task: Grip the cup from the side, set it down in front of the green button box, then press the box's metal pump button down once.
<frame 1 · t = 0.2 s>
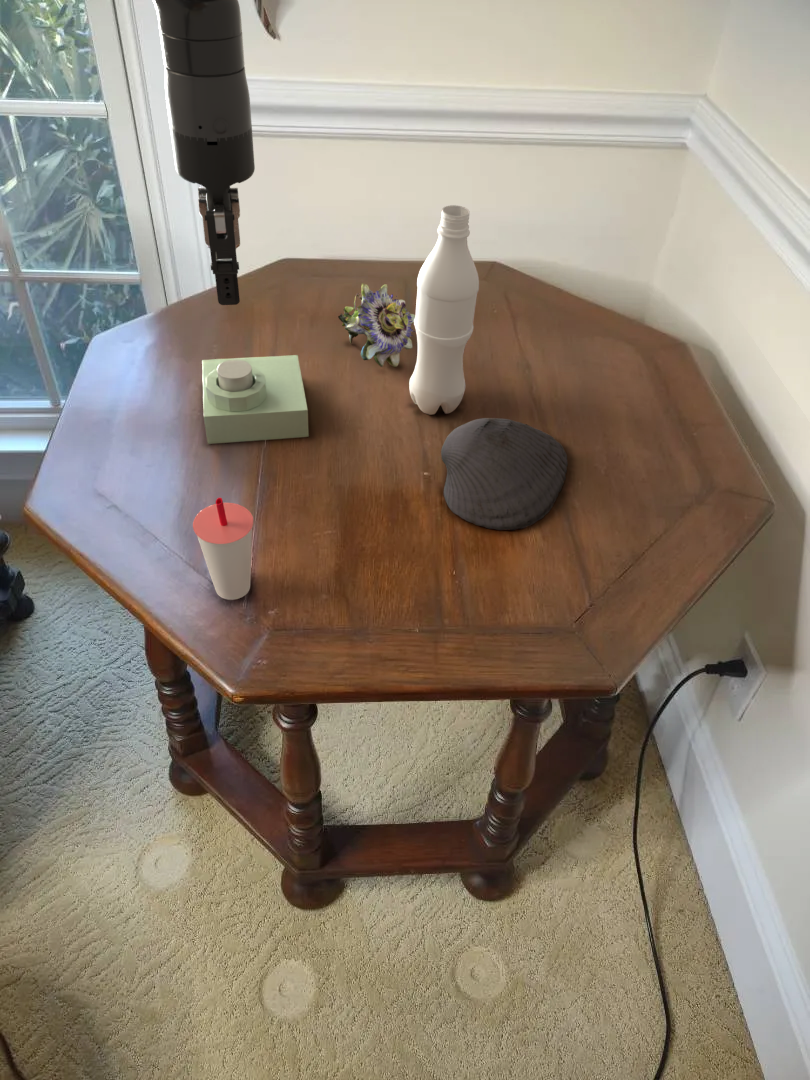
hand: (227, 283, 83), 18 cm above the table, tool pointing down, fingers open, 8 cm apart
passion flower: (373, 353, 108), on the table
green button box: (255, 410, 96), on the table
water bottle: (435, 405, 100), on the table
pump button: (235, 376, 90), point 7 cm above the table, slide at 0.1 cm
cup: (233, 588, 76), on the table
seashell: (504, 476, 91), on the table
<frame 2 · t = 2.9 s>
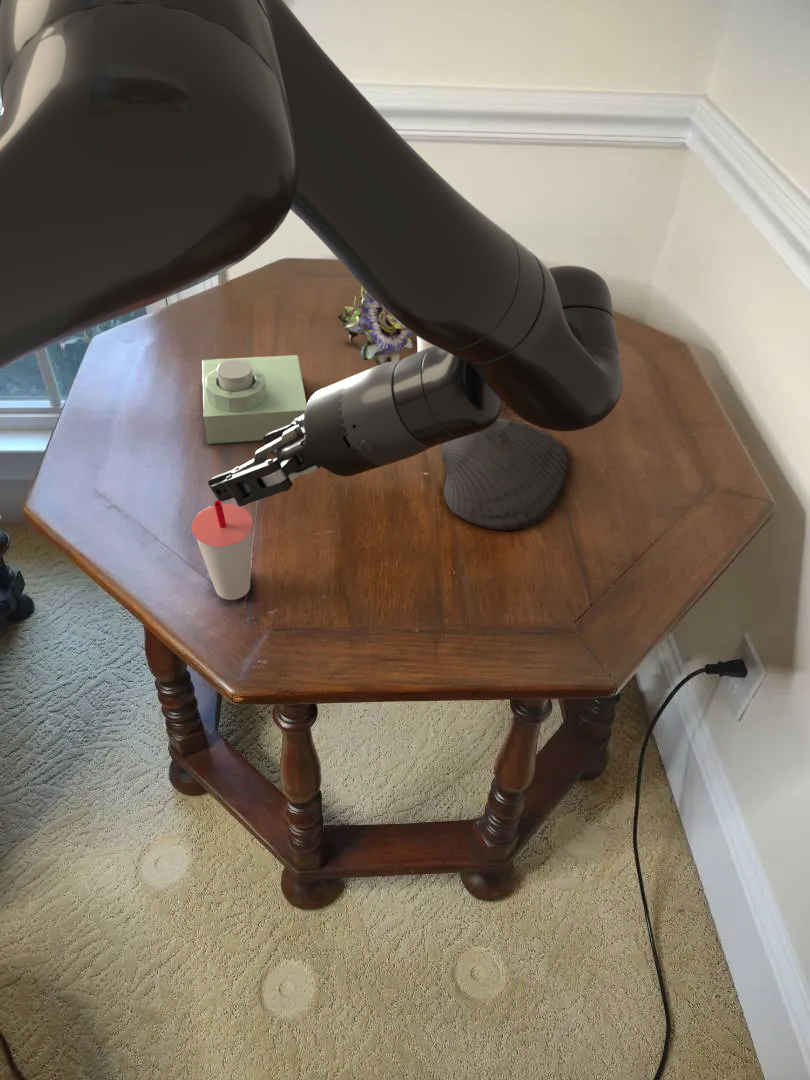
hand: (243, 467, 71), 12 cm above the table, tool tilted 55°, fingers open, 8 cm apart
cup: (233, 587, 76), on the table, touching gripper
everything else where it was.
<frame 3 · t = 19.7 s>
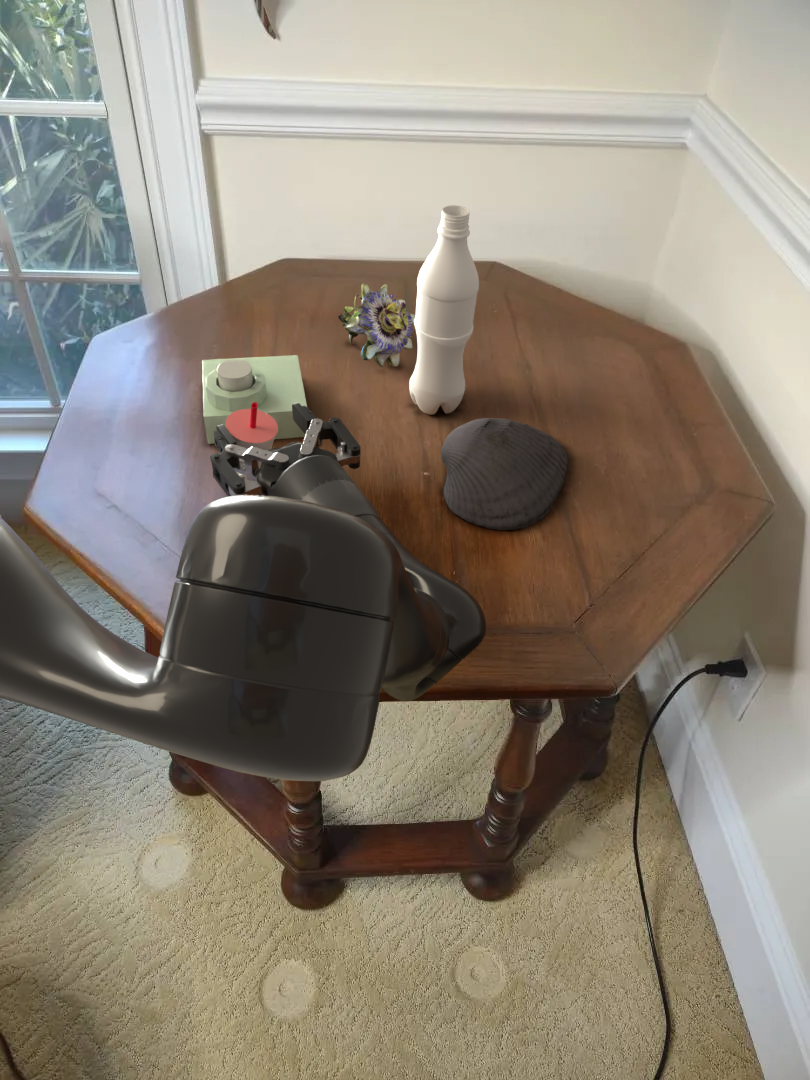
hand: (258, 420, 81), 8 cm above the table, tool horizontal, fingers open, 8 cm apart
cup: (244, 487, 86), on the table
everything else where it was.
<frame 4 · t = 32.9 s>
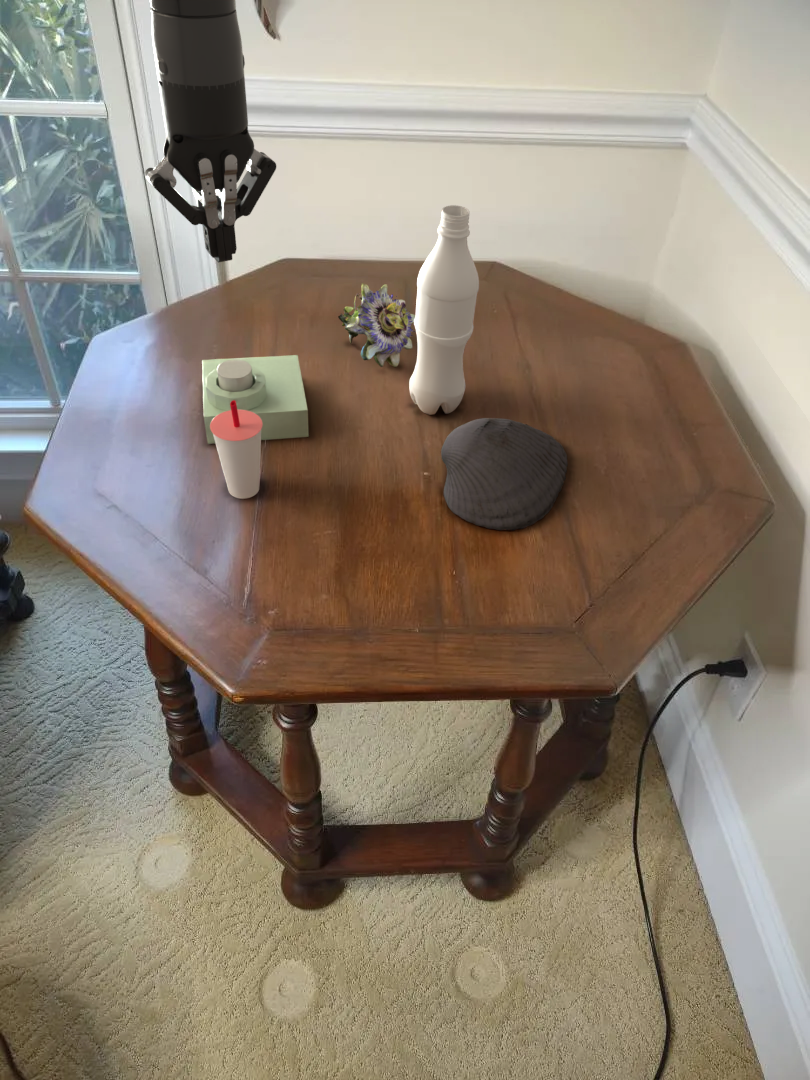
hand: (221, 258, 80), 21 cm above the table, tool pointing down, fingers closed
at the end: cup inside the target area on the table beside the green button box (2.7 cm from its centre), on the table; cup tilted 0°; pump button pushed in 1.2 cm at the most during the clip, back to where it started at the end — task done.
